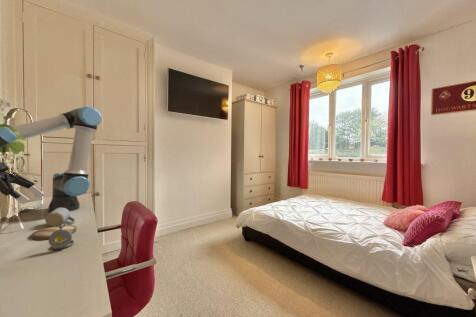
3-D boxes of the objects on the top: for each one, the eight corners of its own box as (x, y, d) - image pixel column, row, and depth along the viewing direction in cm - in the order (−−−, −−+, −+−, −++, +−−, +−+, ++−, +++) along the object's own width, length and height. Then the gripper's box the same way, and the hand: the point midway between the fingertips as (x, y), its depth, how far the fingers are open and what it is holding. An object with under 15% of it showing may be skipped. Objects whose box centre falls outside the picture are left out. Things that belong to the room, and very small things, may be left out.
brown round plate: (41, 229, 93) (41, 226, 93) (81, 225, 99) (81, 223, 99) (22, 242, 79) (22, 239, 79) (69, 237, 85) (69, 234, 85)
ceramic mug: (43, 228, 94) (44, 212, 94) (51, 222, 102) (52, 207, 102) (71, 226, 99) (72, 210, 99) (77, 221, 106) (77, 206, 106)
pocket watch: (69, 241, 82) (69, 216, 82) (79, 246, 78) (80, 220, 78) (42, 248, 75) (43, 222, 74) (52, 254, 71) (53, 226, 71)
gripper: (2, 170, 100) (40, 199, 106) (-42, 175, 77) (9, 211, 83) (17, 160, 102) (53, 189, 108) (-22, 162, 80) (27, 198, 86)
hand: (34, 199), depth 96 cm, fingers open, 13 cm apart
